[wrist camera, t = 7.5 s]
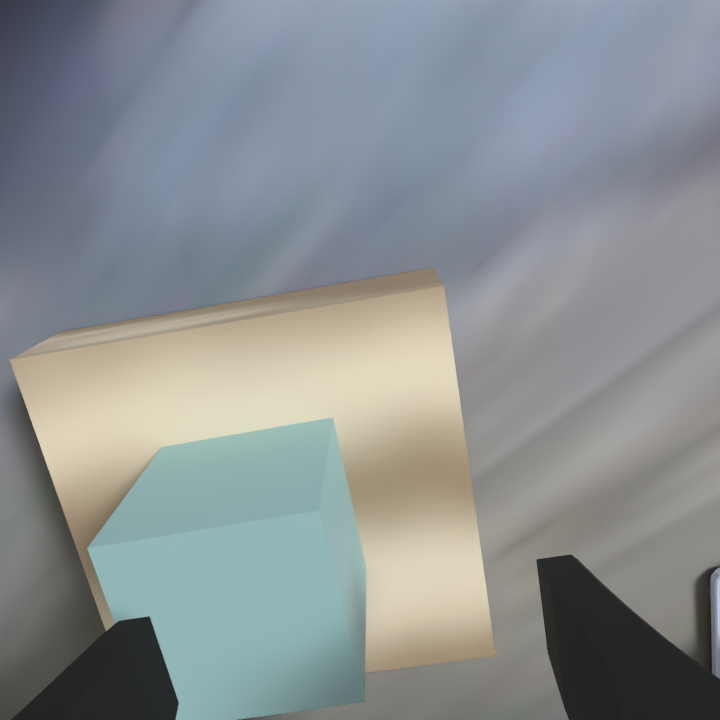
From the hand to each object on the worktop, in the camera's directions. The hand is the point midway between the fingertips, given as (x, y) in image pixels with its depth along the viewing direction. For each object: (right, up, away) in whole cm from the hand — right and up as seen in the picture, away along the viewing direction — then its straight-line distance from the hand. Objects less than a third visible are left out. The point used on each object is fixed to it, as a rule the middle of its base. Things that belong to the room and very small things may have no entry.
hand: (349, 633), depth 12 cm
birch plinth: (-2, +1, +10) cm, 10 cm away
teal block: (-3, +1, +7) cm, 8 cm away
